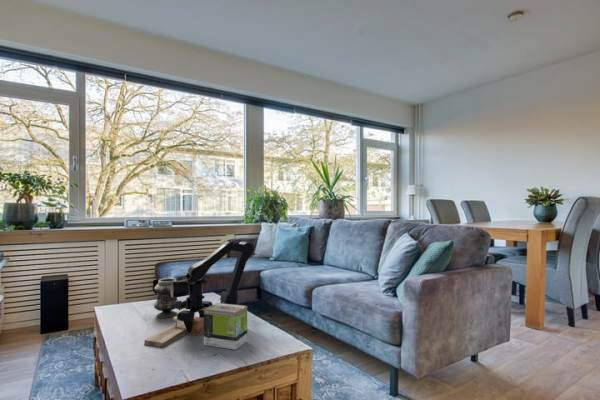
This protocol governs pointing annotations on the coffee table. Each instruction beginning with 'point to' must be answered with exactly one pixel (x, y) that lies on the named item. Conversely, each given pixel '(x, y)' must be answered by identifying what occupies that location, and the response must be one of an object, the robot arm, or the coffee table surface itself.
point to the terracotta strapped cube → (195, 325)
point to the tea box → (225, 325)
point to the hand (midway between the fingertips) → (195, 329)
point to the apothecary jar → (165, 299)
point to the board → (166, 335)
